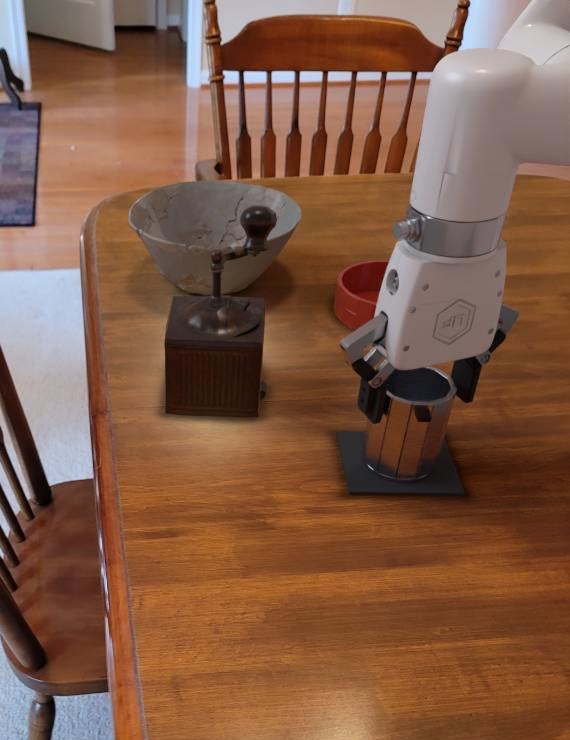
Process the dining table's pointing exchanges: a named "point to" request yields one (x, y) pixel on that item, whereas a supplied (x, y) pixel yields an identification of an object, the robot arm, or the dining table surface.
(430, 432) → the steel pot
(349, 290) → the shallow red bowl
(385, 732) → the dining table surface
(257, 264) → the ceramic bowl
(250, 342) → the manual coffee grinder
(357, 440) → the rubber mat
